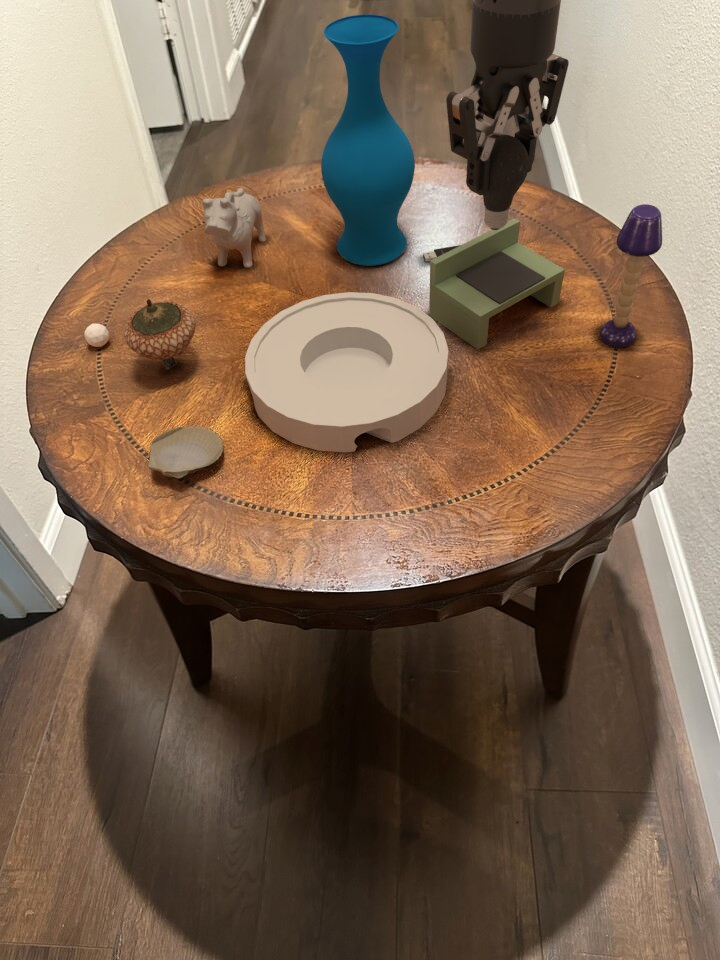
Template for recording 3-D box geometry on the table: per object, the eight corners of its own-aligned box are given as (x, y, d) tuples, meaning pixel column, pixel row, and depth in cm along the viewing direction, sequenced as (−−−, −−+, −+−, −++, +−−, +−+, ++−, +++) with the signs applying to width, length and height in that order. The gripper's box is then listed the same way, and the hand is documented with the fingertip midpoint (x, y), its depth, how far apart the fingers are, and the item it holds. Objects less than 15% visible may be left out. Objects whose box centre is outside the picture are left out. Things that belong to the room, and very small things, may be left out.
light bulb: (462, 237, 80) (467, 146, 73) (477, 211, 84) (483, 121, 76) (513, 246, 79) (524, 154, 71) (527, 219, 82) (538, 127, 74)
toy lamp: (627, 354, 88) (663, 226, 75) (589, 342, 89) (617, 215, 77) (640, 331, 90) (677, 203, 77) (603, 320, 92) (633, 193, 79)
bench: (508, 272, 99) (514, 217, 93) (559, 303, 95) (569, 247, 89) (428, 315, 95) (429, 260, 88) (477, 350, 90) (482, 294, 84)
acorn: (194, 337, 94) (175, 269, 87) (214, 375, 89) (196, 307, 82) (131, 358, 92) (105, 290, 85) (147, 398, 87) (122, 330, 80)
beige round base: (384, 481, 77) (382, 455, 74) (210, 408, 86) (202, 382, 83) (480, 352, 89) (483, 325, 86) (320, 299, 98) (317, 273, 95)
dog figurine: (207, 282, 102) (189, 210, 94) (235, 230, 110) (220, 160, 102) (244, 284, 101) (229, 212, 93) (269, 232, 109) (257, 162, 101)
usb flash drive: (426, 264, 102) (426, 258, 101) (422, 256, 103) (422, 250, 102) (481, 255, 102) (481, 248, 102) (476, 247, 104) (477, 241, 103)
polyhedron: (113, 336, 95) (106, 317, 93) (110, 351, 94) (102, 332, 91) (91, 338, 95) (83, 319, 93) (87, 353, 94) (79, 334, 91)
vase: (418, 224, 108) (419, 7, 87) (410, 275, 100) (409, 50, 79) (337, 222, 110) (318, 9, 89) (322, 272, 102) (298, 50, 81)
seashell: (235, 459, 83) (178, 423, 84) (238, 440, 80) (179, 404, 82) (188, 502, 77) (127, 464, 79) (190, 483, 75) (128, 444, 76)
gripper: (487, 28, 59) (474, 221, 72) (607, -17, 65) (575, 169, 78) (425, 6, 63) (423, 192, 76) (542, -36, 69) (522, 145, 82)
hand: (499, 180), depth 77 cm, fingers closed on light bulb, 5 cm apart
